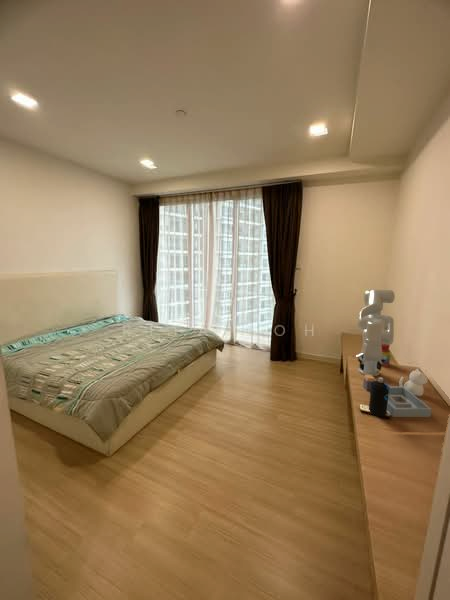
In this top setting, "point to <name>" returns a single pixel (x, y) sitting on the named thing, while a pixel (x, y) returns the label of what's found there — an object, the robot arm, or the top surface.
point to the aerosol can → (379, 397)
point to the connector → (368, 382)
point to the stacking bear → (386, 354)
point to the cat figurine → (415, 382)
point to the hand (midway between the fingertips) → (370, 369)
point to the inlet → (404, 401)
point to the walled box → (417, 405)
